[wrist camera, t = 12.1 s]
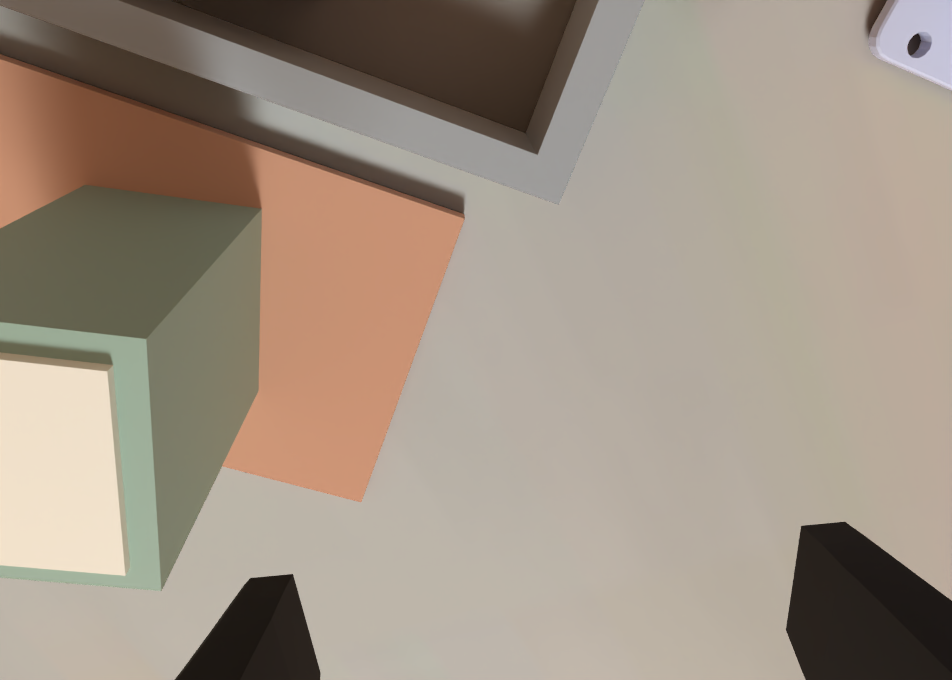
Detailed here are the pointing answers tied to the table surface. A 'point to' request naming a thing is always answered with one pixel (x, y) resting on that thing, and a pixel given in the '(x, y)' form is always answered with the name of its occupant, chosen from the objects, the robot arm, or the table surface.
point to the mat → (282, 261)
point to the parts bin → (378, 84)
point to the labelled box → (120, 378)
